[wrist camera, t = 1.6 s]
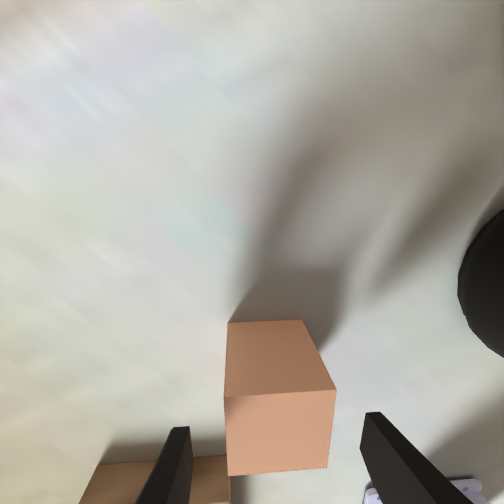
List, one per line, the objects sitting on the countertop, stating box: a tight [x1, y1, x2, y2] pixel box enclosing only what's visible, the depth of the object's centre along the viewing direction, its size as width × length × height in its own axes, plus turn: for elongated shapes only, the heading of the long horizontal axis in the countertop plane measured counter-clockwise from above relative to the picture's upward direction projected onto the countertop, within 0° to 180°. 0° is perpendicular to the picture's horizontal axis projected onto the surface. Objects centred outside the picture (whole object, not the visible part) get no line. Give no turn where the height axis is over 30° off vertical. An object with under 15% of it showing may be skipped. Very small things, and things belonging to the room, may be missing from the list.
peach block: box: [224, 319, 336, 476], centre depth 12 cm, size 4×4×5 cm
